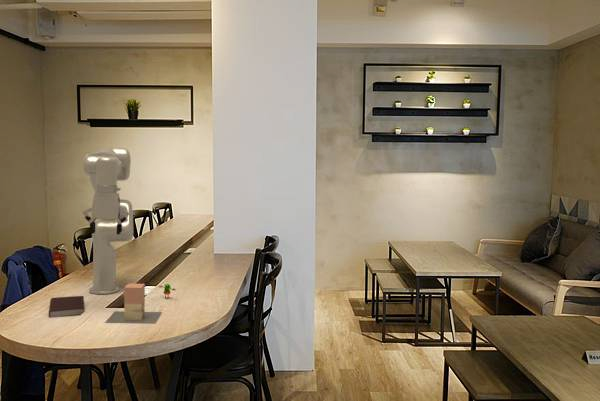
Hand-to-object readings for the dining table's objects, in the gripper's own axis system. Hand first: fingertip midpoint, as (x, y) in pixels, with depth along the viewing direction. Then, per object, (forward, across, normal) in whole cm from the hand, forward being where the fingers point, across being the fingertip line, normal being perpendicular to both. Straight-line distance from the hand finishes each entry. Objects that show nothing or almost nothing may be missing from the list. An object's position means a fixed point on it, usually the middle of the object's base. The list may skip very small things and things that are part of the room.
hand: (105, 233), depth 209 cm
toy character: (+31, -22, -19) cm, 42 cm away
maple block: (+29, -14, +12) cm, 35 cm away
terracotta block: (+23, -14, +12) cm, 30 cm away
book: (+31, +14, 0) cm, 34 cm away
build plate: (+30, -14, +12) cm, 35 cm away
